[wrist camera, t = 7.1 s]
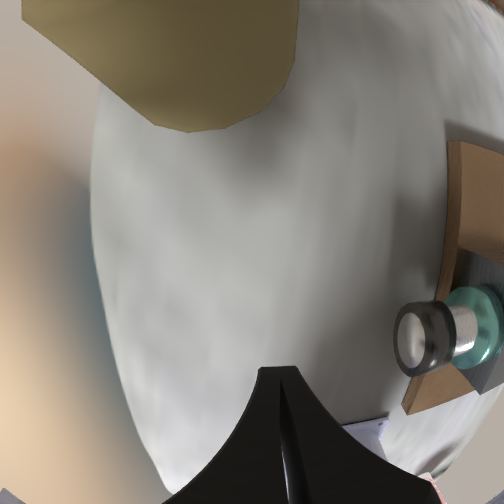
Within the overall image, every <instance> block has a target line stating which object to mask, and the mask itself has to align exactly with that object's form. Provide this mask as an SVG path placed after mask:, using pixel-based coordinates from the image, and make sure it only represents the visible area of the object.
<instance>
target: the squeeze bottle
mask: <svg viewBox="0 0 504 504" xmlns="http://www.w3.org/2000/svg"><path fill="white" fill-rule="evenodd" d="M298 10H299V0H22V20H23V21H24V22H26V23H27V24H29V25H30V26H31V27H33V28H34V29H35V30H37V31H38V32H39V33H41V34H42V35H43V36H45V37H46V38H47V39H48V40H50V41H51V42H52V43H53V44H55V45H56V46H57V47H59V48H60V49H61V50H63V51H64V52H65V53H66V54H67V55H69V56H70V57H71V58H73V59H74V60H75V61H76V62H78V63H79V64H80V65H81V66H83V67H84V68H85V69H86V70H87V71H89V72H90V73H91V74H92V75H94V76H95V77H96V78H97V79H98V80H100V81H101V82H102V83H103V84H104V85H106V86H107V87H108V88H109V89H110V90H112V91H113V92H114V93H115V94H116V95H118V96H119V97H120V98H121V99H122V100H124V101H125V102H126V103H127V104H128V105H129V106H131V107H132V108H133V109H134V110H136V111H137V112H138V113H140V114H141V115H142V116H144V117H145V118H146V119H147V120H149V121H150V122H151V123H153V124H154V125H156V126H161V127H165V128H169V129H174V130H178V131H182V132H186V133H190V132H197V131H205V130H214V129H223V128H226V127H228V126H231V125H233V124H235V123H237V122H239V121H241V120H243V119H245V118H247V117H250V116H252V115H254V114H256V113H258V112H260V111H261V110H262V109H263V108H264V107H265V106H266V105H267V104H268V103H269V102H270V101H271V100H272V99H273V98H274V97H275V96H276V95H277V94H278V93H279V92H280V91H281V90H282V89H283V88H284V86H285V83H286V81H287V78H288V75H289V73H290V70H291V67H292V65H293V62H294V60H295V49H296V37H297V24H298Z"/></svg>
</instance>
